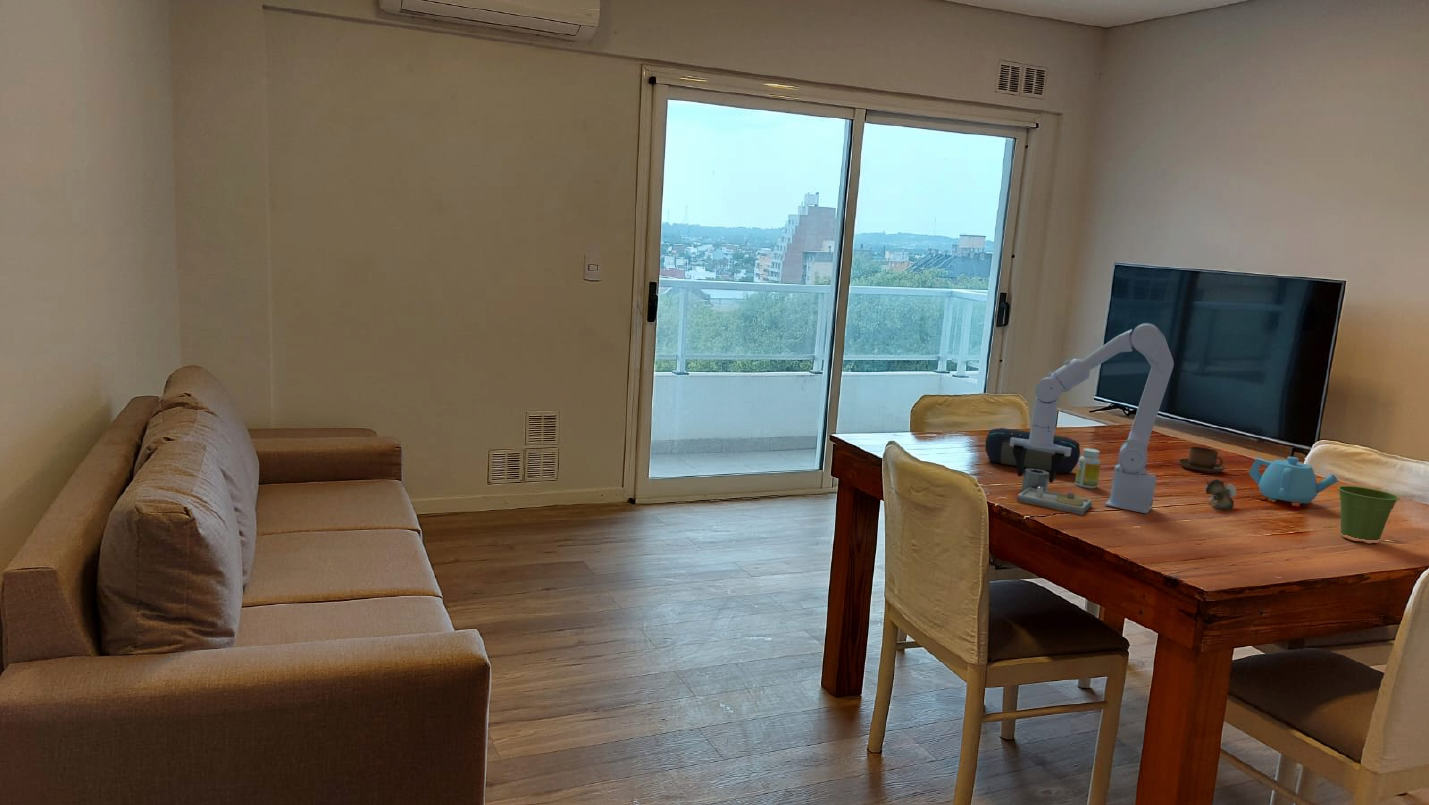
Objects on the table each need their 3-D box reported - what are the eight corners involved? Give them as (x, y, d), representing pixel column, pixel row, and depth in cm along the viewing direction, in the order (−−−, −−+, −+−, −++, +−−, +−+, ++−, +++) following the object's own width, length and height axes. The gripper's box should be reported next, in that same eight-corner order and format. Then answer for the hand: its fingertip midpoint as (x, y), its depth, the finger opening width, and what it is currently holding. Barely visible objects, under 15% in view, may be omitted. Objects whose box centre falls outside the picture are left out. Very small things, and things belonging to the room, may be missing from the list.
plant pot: (1395, 542, 222) (1405, 494, 220) (1383, 551, 213) (1393, 502, 211) (1336, 528, 230) (1345, 482, 228) (1322, 536, 222) (1331, 489, 220)
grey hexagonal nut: (1048, 491, 245) (1051, 471, 244) (1042, 495, 240) (1045, 475, 239) (1025, 486, 247) (1028, 467, 247) (1019, 490, 243) (1022, 471, 242)
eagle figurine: (1193, 493, 249) (1196, 494, 240) (1215, 471, 247) (1219, 472, 239) (1220, 515, 246) (1224, 517, 238) (1243, 493, 245) (1247, 494, 236)
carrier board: (1091, 506, 233) (1093, 493, 232) (1082, 514, 224) (1084, 501, 224) (1027, 493, 241) (1029, 480, 240) (1016, 501, 232) (1018, 488, 232)
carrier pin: (1042, 501, 234) (1044, 487, 234) (1040, 502, 233) (1042, 488, 232) (1036, 499, 235) (1038, 485, 234) (1035, 501, 234) (1036, 487, 233)
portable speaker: (980, 464, 270) (985, 428, 268) (985, 457, 279) (989, 423, 277) (1076, 479, 261) (1081, 442, 259) (1077, 471, 270) (1082, 436, 268)
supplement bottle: (1070, 484, 254) (1076, 448, 252) (1081, 482, 257) (1087, 446, 255) (1090, 489, 250) (1095, 453, 248) (1100, 487, 253) (1106, 451, 251)
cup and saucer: (1228, 472, 285) (1232, 451, 284) (1216, 477, 276) (1220, 456, 275) (1185, 463, 293) (1188, 443, 292) (1172, 468, 284) (1176, 447, 283)
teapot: (1239, 498, 252) (1246, 454, 250) (1250, 488, 265) (1258, 446, 263) (1328, 517, 240) (1337, 470, 238) (1336, 505, 253) (1345, 461, 251)
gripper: (1076, 428, 240) (1068, 481, 243) (1018, 418, 248) (1010, 470, 250) (1070, 432, 234) (1062, 487, 237) (1010, 422, 242) (1003, 475, 244)
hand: (1035, 478), depth 243 cm, fingers open, 7 cm apart
